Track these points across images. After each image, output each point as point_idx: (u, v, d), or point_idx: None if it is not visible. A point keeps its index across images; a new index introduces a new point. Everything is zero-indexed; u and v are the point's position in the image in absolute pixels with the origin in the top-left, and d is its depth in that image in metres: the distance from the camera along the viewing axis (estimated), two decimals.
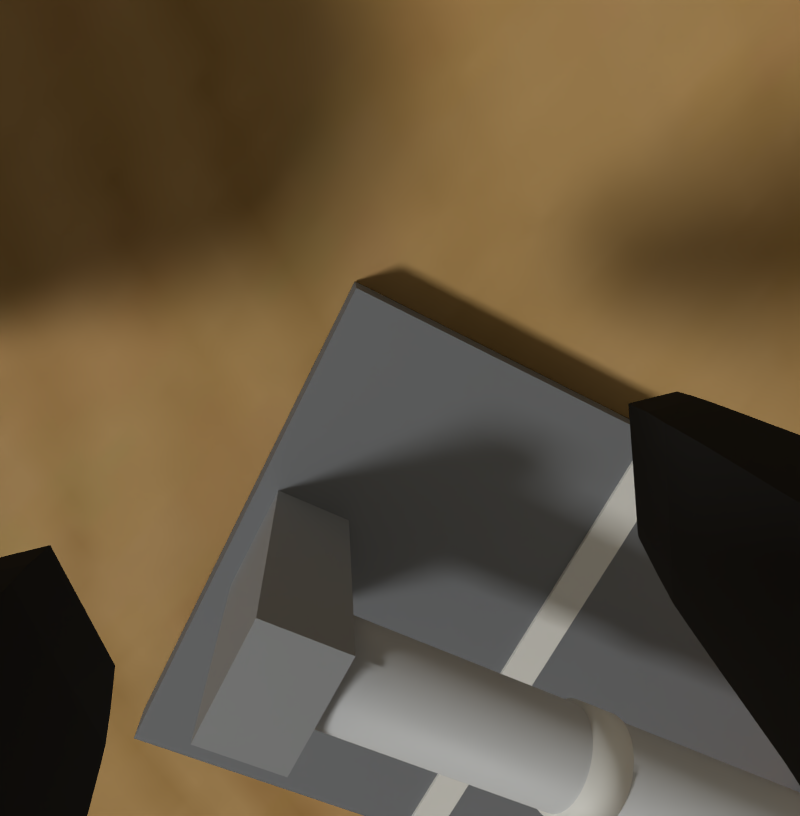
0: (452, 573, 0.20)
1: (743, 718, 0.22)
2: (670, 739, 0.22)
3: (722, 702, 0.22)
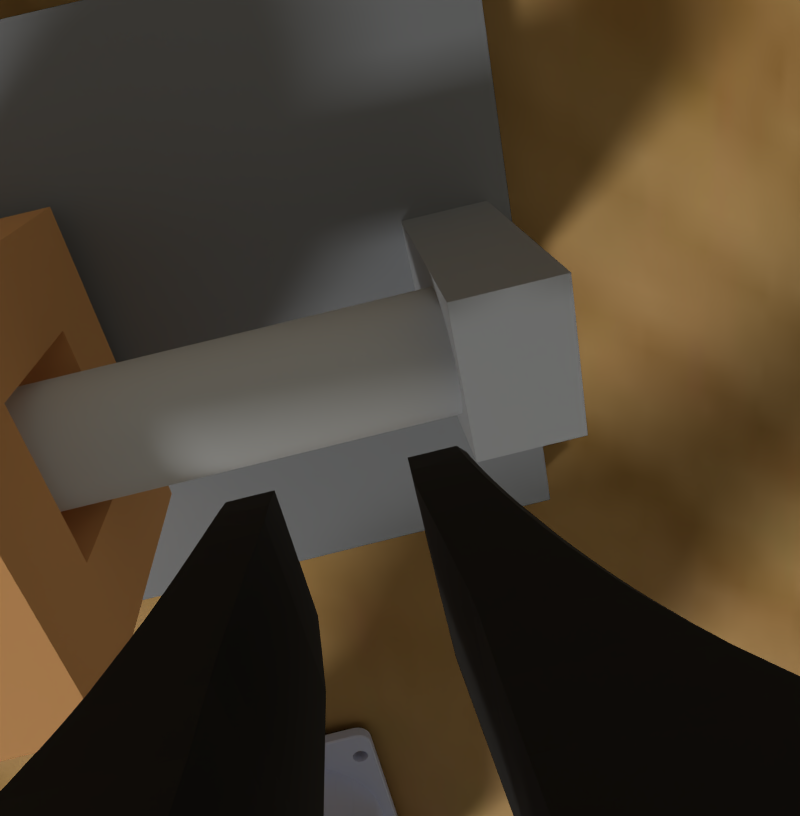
0: None
1: None
2: None
3: None
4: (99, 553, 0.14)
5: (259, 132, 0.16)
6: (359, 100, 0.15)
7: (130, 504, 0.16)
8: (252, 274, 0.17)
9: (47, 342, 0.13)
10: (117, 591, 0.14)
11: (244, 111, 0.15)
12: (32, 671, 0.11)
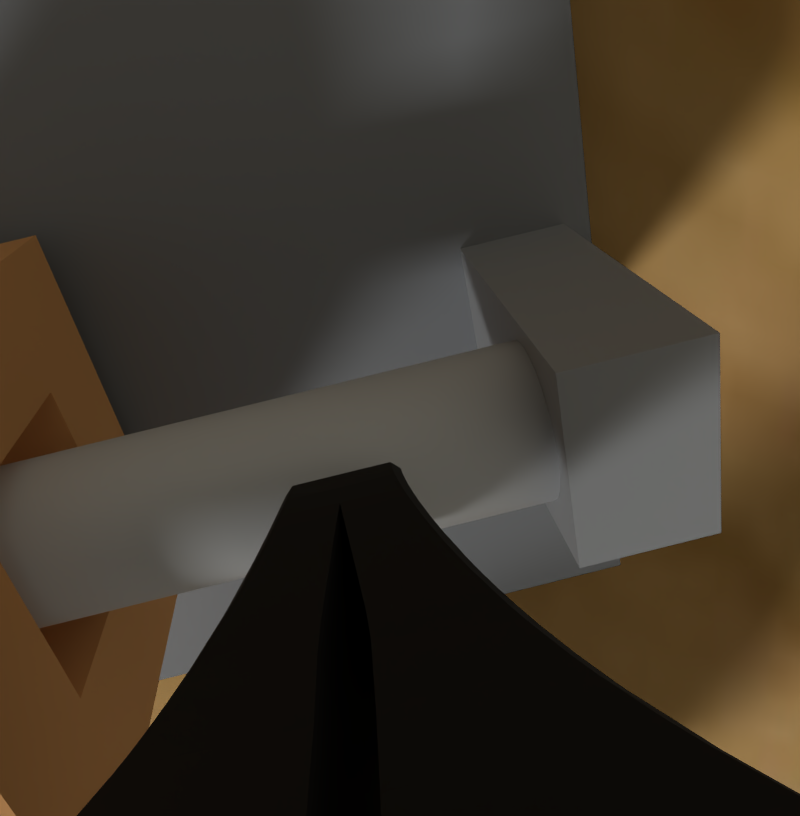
0: None
1: None
2: None
3: None
4: (97, 677, 0.11)
5: (292, 143, 0.13)
6: (414, 103, 0.13)
7: None
8: (281, 313, 0.14)
9: (30, 411, 0.11)
10: (119, 722, 0.11)
11: (274, 117, 0.12)
12: None
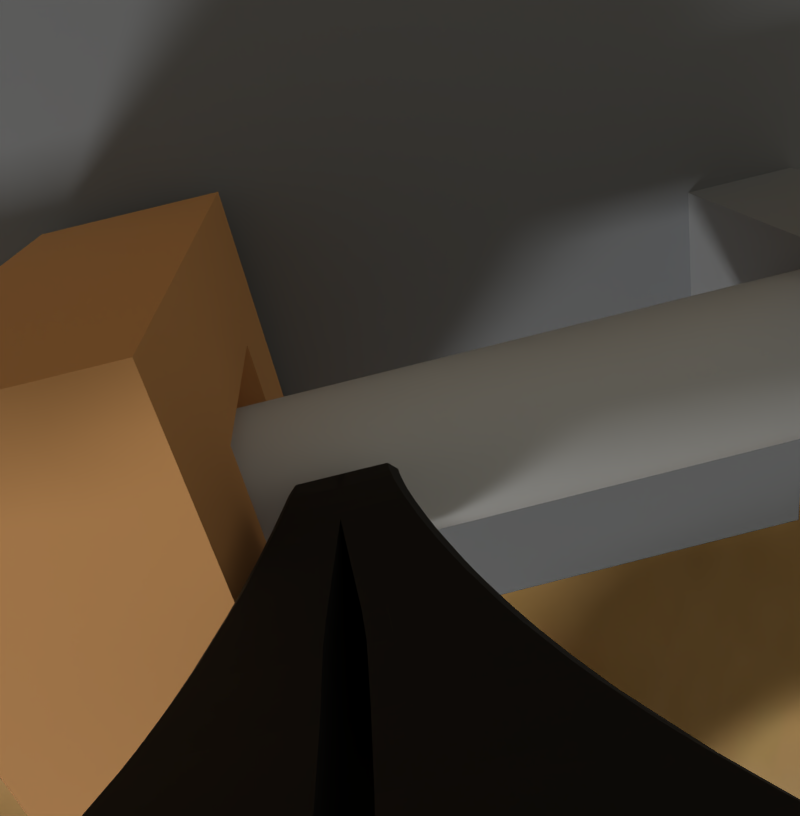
0: None
1: None
2: None
3: None
4: None
5: (542, 82, 0.13)
6: (664, 43, 0.13)
7: None
8: (508, 257, 0.14)
9: (241, 360, 0.11)
10: None
11: (528, 56, 0.13)
12: None
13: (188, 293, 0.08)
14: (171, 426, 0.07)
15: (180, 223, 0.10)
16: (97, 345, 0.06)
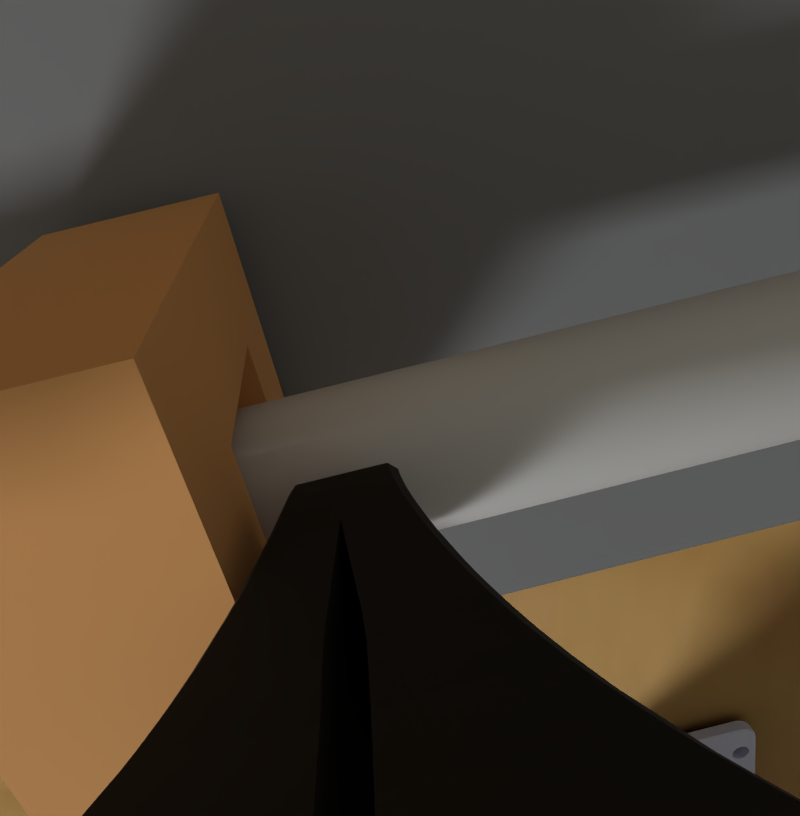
0: None
1: (342, 324, 0.14)
2: None
3: (291, 325, 0.14)
4: None
5: None
6: None
7: None
8: None
9: (242, 361, 0.11)
10: None
11: None
12: None
13: (189, 294, 0.08)
14: (172, 426, 0.07)
15: (181, 224, 0.11)
16: (98, 346, 0.06)
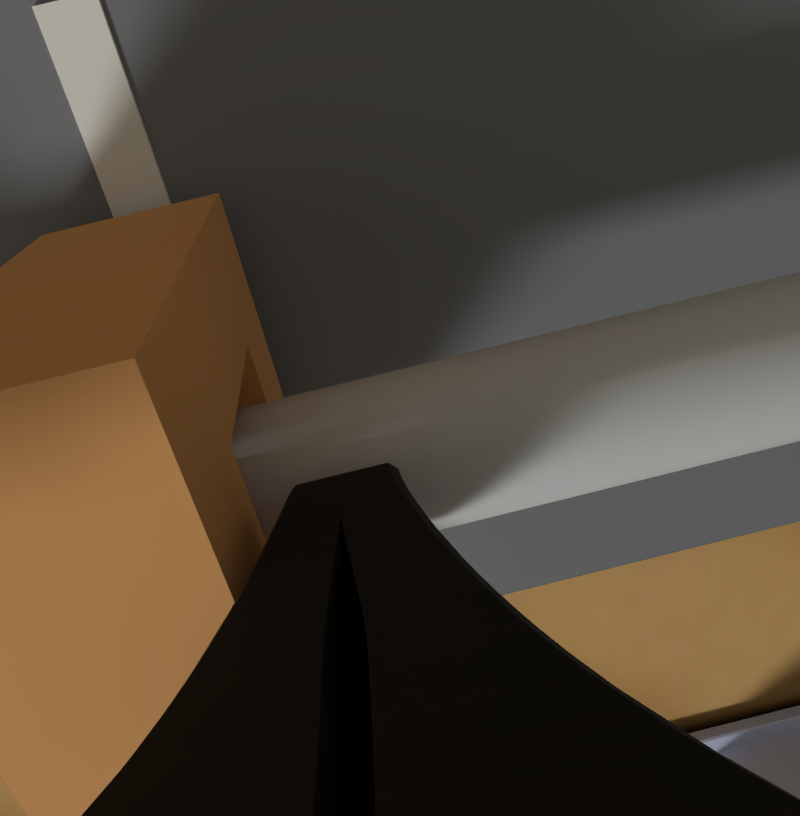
0: None
1: (558, 272, 0.14)
2: None
3: (509, 272, 0.14)
4: None
5: None
6: None
7: None
8: None
9: (242, 361, 0.11)
10: None
11: None
12: None
13: (189, 294, 0.08)
14: (171, 426, 0.07)
15: (181, 224, 0.11)
16: (99, 346, 0.06)
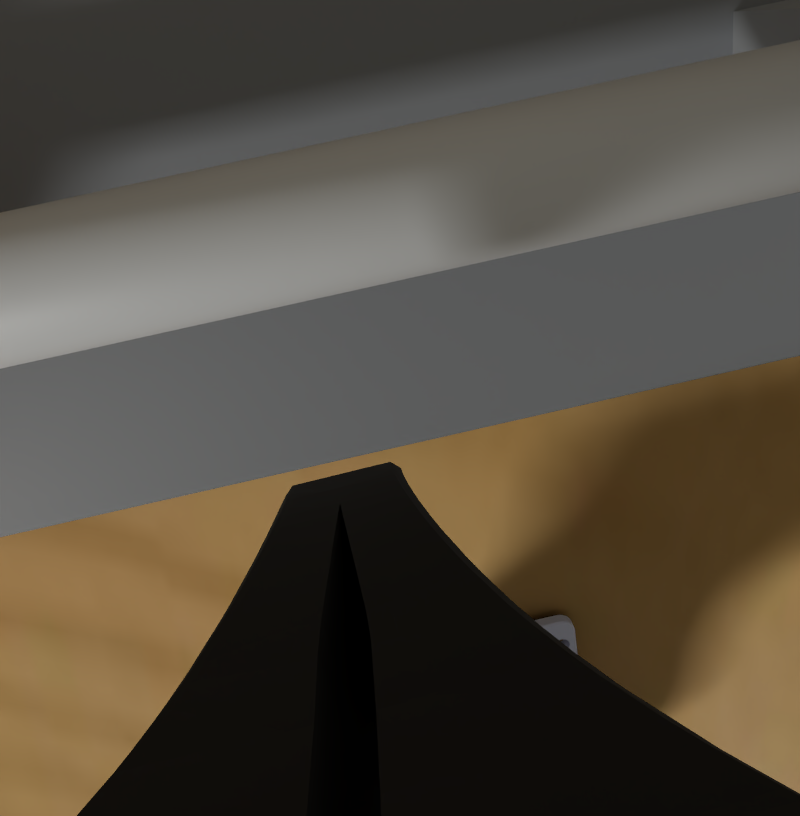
0: None
1: None
2: None
3: (72, 188, 0.15)
4: None
5: None
6: None
7: None
8: (570, 67, 0.16)
9: None
10: None
11: None
12: None
13: None
14: None
15: None
16: None
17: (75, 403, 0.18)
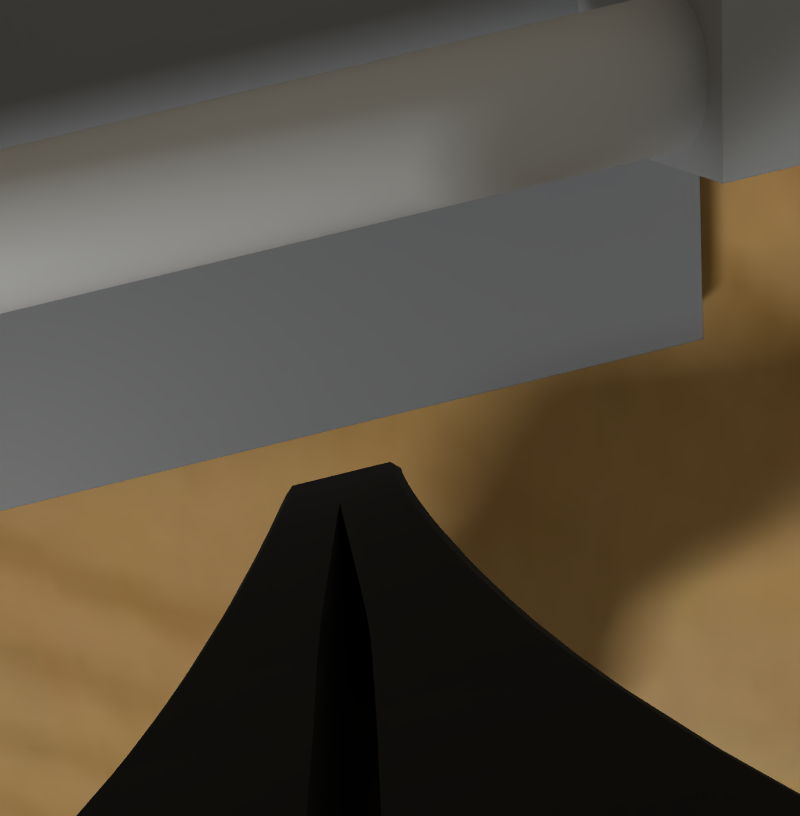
0: None
1: None
2: None
3: None
4: None
5: None
6: None
7: None
8: (411, 48, 0.15)
9: None
10: None
11: None
12: None
13: None
14: None
15: None
16: None
17: None
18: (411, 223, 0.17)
